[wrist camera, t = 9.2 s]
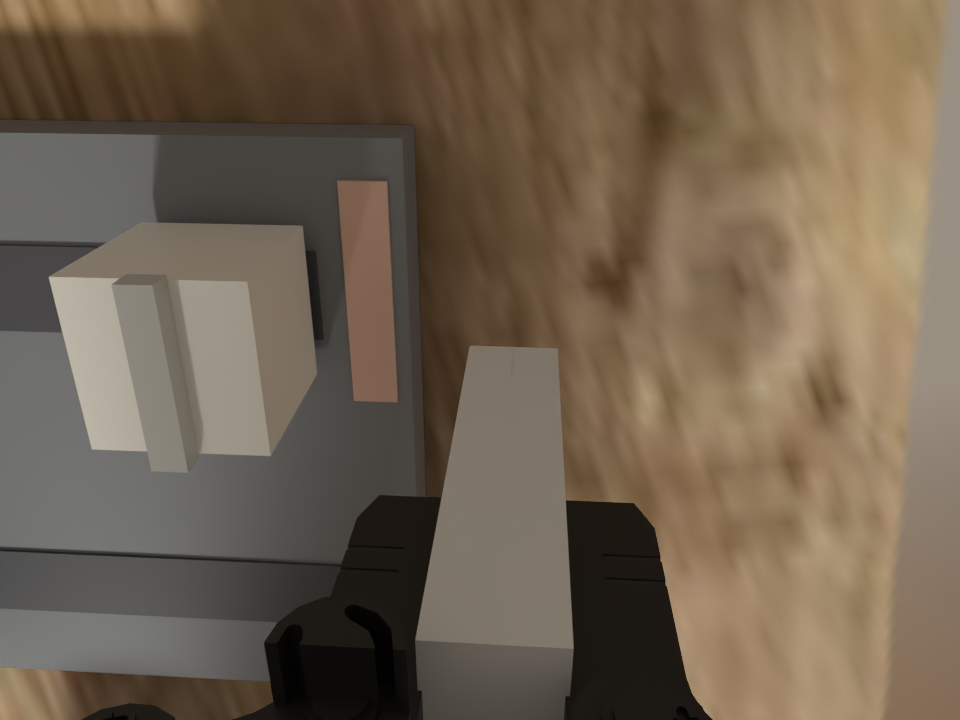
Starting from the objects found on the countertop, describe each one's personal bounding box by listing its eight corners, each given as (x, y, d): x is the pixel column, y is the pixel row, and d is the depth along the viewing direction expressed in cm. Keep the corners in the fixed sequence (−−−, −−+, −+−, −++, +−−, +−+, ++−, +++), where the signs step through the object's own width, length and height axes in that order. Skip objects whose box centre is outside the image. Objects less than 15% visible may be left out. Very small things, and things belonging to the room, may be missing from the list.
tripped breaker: (317, 377, 20) (262, 475, 16) (170, 372, 21) (78, 468, 16) (302, 221, 19) (235, 287, 14) (140, 218, 19) (29, 282, 15)
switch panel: (430, 644, 28) (423, 692, 26) (-129, 616, 29) (-176, 659, 27) (414, 125, 20) (401, 139, 18) (-352, 114, 21) (-439, 127, 19)
